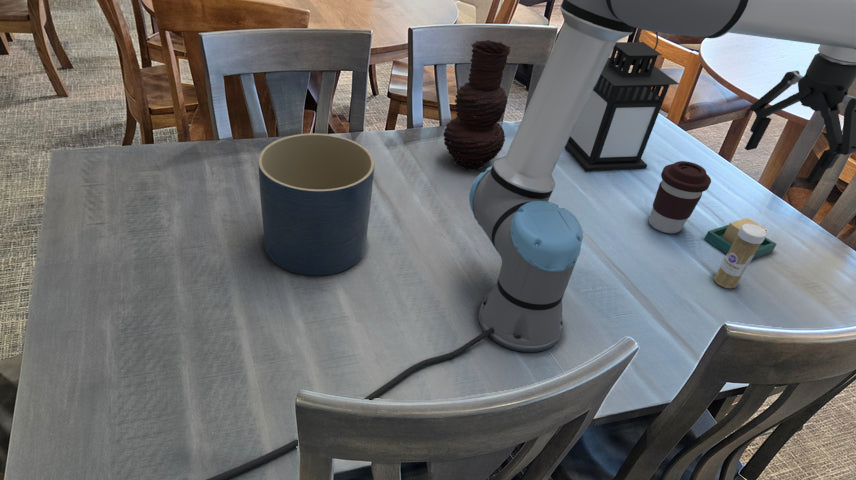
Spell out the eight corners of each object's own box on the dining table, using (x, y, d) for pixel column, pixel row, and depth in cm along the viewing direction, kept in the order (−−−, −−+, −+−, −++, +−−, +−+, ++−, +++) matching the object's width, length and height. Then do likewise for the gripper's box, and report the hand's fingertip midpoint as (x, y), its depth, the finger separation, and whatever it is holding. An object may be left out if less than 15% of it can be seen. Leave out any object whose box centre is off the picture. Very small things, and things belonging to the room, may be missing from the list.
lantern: (585, 171, 163) (630, 34, 141) (557, 140, 176) (595, 10, 154) (645, 168, 166) (699, 34, 144) (614, 138, 179) (658, 10, 157)
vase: (430, 151, 168) (446, 37, 148) (482, 145, 172) (505, 33, 152) (454, 180, 156) (475, 61, 137) (509, 173, 160) (537, 57, 141)
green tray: (740, 263, 136) (744, 255, 135) (704, 239, 142) (708, 230, 141) (772, 252, 140) (777, 244, 138) (735, 229, 146) (739, 220, 145)
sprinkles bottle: (709, 280, 131) (737, 227, 122) (719, 272, 133) (748, 220, 125) (730, 292, 128) (761, 239, 120) (740, 284, 130) (771, 231, 122)
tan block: (739, 252, 138) (749, 235, 135) (720, 239, 141) (729, 223, 138) (757, 246, 140) (767, 229, 137) (738, 233, 143) (747, 217, 141)
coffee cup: (691, 240, 142) (719, 183, 132) (645, 233, 143) (670, 176, 133) (682, 216, 149) (708, 160, 140) (639, 210, 150) (662, 154, 141)
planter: (378, 226, 139) (386, 144, 127) (351, 288, 123) (357, 200, 110) (284, 207, 143) (282, 125, 130) (245, 264, 127) (239, 177, 114)
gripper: (925, 82, 104) (852, 192, 118) (789, 32, 121) (738, 133, 135) (900, 88, 102) (828, 199, 115) (764, 36, 118) (715, 139, 132)
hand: (779, 164), depth 125 cm, fingers open, 13 cm apart
